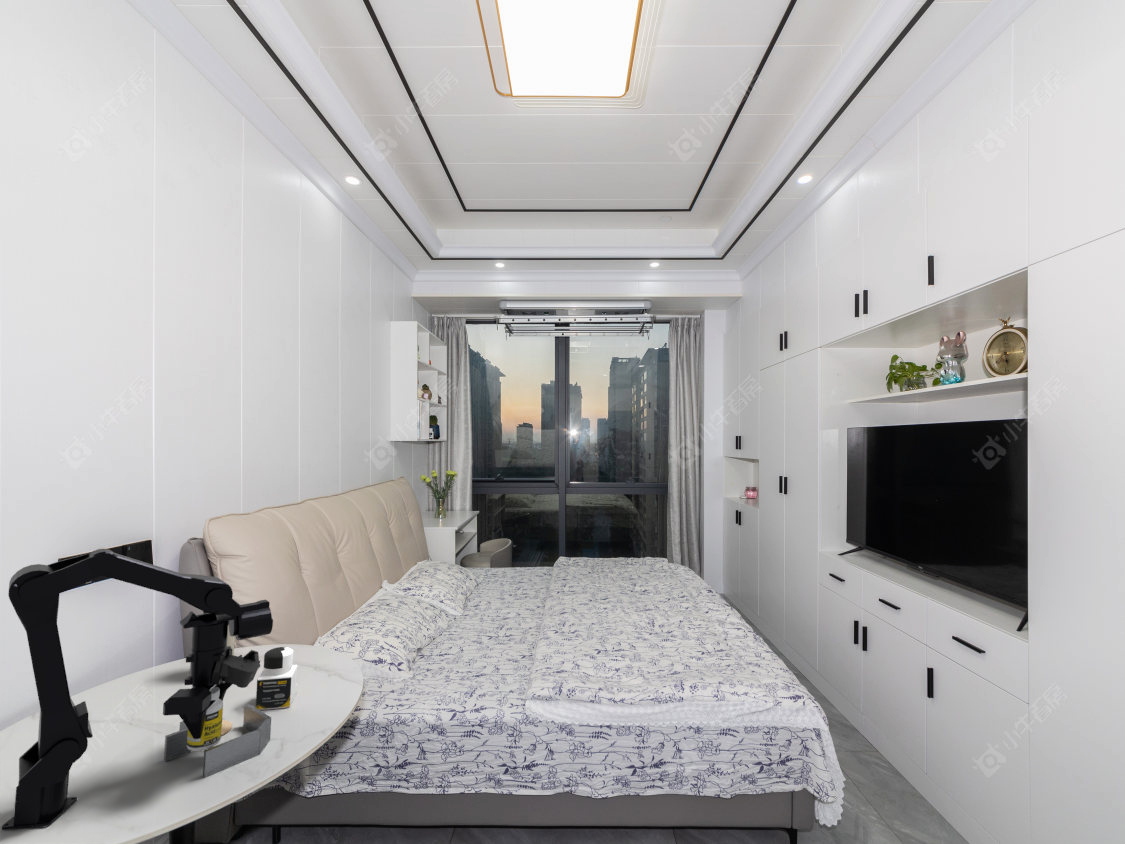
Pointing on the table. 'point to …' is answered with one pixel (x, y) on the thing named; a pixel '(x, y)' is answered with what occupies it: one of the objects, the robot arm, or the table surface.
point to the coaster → (226, 727)
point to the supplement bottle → (209, 725)
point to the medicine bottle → (277, 680)
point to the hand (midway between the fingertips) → (204, 730)
